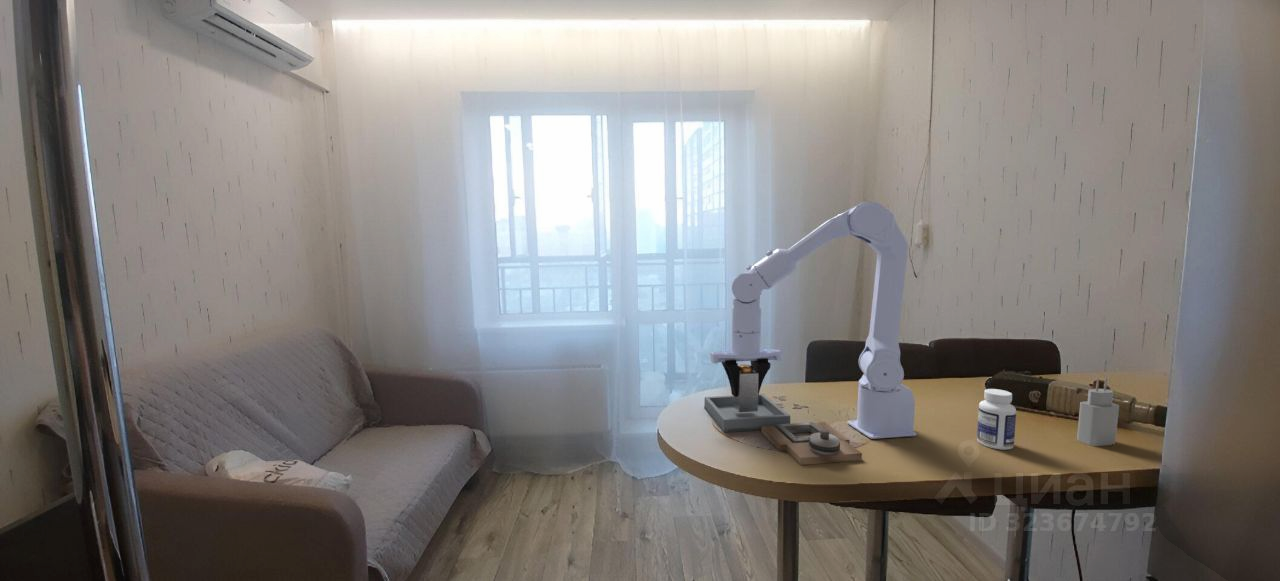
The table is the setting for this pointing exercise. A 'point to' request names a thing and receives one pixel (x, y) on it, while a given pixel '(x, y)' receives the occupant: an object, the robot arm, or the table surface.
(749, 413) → the tray
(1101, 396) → the power adapter
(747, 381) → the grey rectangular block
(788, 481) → the table surface
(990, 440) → the pill bottle
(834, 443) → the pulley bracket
